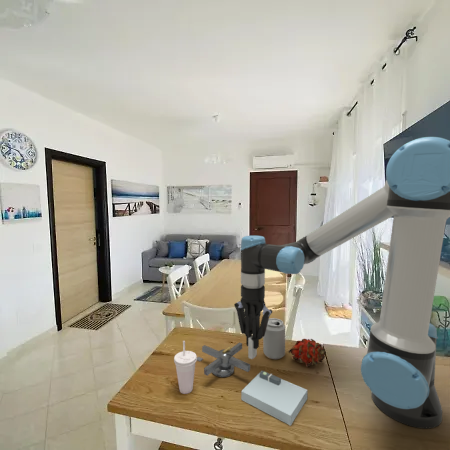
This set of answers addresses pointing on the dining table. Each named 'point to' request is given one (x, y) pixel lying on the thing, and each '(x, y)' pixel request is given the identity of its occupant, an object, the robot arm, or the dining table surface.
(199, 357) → the tick mark
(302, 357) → the dragon fruit
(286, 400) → the pale grey switch box
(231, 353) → the capstan
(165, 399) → the dining table surface
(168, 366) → the dining table surface
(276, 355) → the can
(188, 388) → the smoothie
